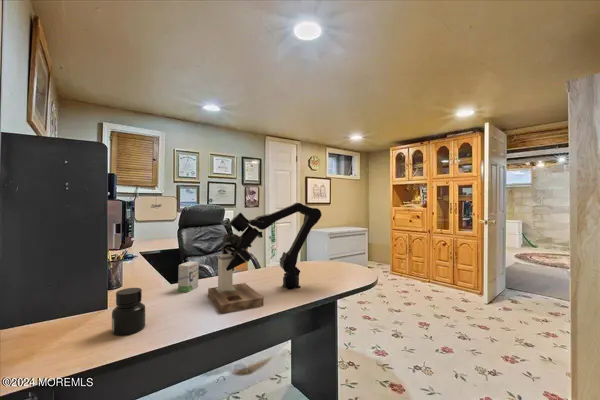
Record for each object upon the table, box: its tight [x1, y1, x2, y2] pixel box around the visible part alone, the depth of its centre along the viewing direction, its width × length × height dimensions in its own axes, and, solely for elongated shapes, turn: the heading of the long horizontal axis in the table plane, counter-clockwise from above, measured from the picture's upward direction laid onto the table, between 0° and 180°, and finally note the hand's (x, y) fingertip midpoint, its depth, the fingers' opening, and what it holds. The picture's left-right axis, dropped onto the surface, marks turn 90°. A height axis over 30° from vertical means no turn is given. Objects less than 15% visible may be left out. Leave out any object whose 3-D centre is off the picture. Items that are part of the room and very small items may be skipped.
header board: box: [207, 282, 264, 315], centre depth 113 cm, size 16×22×3 cm
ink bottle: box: [111, 287, 146, 336], centre depth 88 cm, size 10×9×12 cm
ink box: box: [177, 261, 199, 293], centre depth 127 cm, size 9×5×12 cm, turn 168°
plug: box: [217, 253, 234, 291], centre depth 118 cm, size 5×5×14 cm
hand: (222, 268), depth 117 cm, fingers open, 9 cm apart
